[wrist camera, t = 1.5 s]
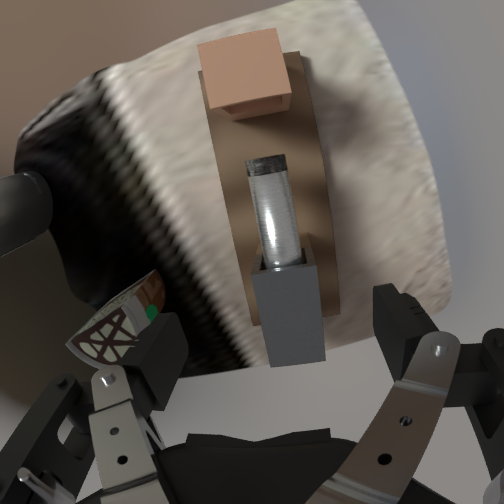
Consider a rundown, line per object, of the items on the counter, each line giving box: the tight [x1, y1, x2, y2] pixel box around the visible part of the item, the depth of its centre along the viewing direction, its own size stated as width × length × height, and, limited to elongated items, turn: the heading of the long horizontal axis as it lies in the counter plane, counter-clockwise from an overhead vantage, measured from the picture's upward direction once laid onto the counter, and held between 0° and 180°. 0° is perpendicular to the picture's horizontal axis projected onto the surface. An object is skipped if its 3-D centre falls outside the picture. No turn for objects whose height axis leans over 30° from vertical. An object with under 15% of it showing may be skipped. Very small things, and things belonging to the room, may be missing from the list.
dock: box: [198, 51, 340, 326], centre depth 27 cm, size 28×10×6 cm, turn 11°
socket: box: [197, 28, 292, 121], centre depth 21 cm, size 5×5×9 cm
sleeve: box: [251, 247, 326, 367], centre depth 25 cm, size 9×5×4 cm, turn 11°
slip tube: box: [245, 154, 303, 270], centre depth 24 cm, size 17×3×3 cm, turn 11°
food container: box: [66, 269, 166, 369], centre depth 31 cm, size 12×6×10 cm, turn 123°
